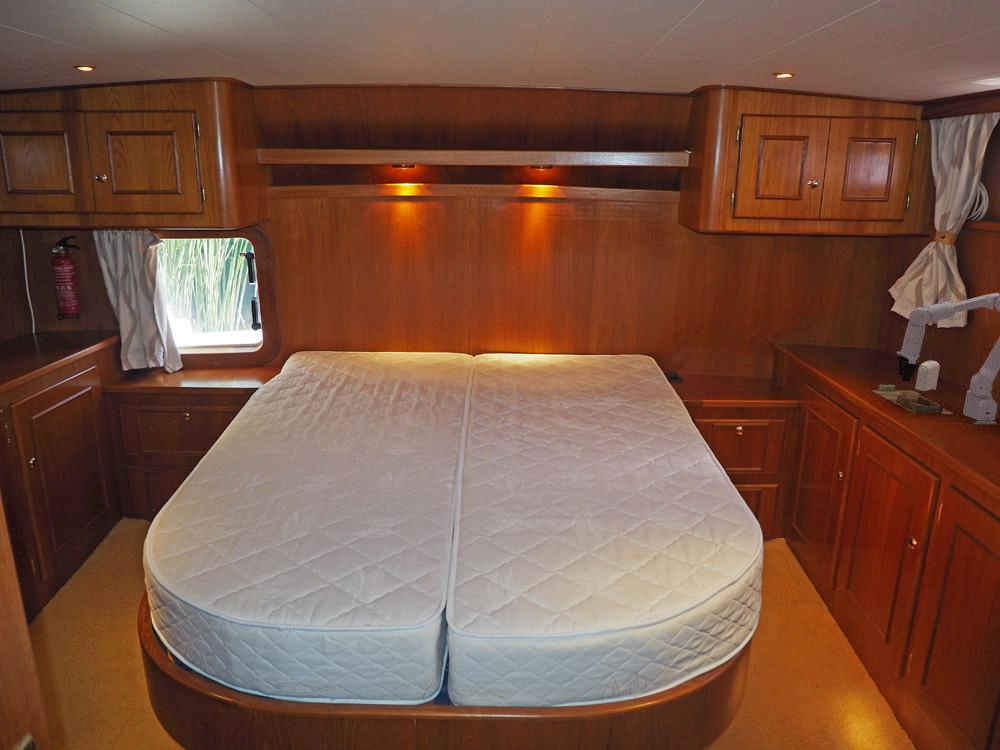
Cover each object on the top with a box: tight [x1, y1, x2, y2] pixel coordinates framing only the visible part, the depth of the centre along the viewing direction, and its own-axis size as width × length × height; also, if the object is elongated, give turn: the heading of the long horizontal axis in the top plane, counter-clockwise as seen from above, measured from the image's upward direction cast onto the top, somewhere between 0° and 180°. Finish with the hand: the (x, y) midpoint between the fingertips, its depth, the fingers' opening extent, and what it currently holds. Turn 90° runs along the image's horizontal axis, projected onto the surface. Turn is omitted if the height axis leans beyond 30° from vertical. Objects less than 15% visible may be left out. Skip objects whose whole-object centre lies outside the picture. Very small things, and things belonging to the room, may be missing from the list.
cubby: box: [897, 395, 944, 415], centre depth 252 cm, size 13×8×2 cm, turn 2°
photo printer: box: [914, 360, 940, 392], centre depth 275 cm, size 10×4×12 cm, turn 125°
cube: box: [901, 390, 920, 404], centre depth 257 cm, size 4×4×4 cm
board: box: [870, 384, 954, 415], centre depth 259 cm, size 28×14×4 cm, turn 2°
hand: (903, 378), depth 255 cm, fingers open, 7 cm apart
